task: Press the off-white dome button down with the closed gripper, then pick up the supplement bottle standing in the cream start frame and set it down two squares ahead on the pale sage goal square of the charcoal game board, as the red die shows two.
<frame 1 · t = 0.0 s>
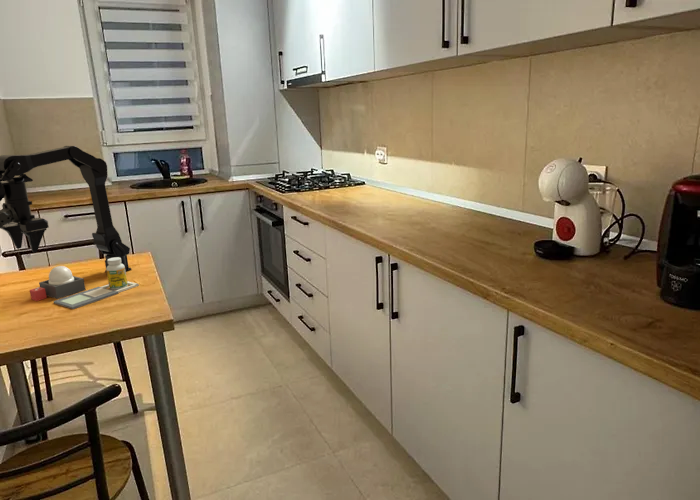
hand: (26, 250, 153), 15 cm above the table, fingers open, 9 cm apart
dome housing: (63, 292, 160), on the table
dome: (60, 276, 159), point 5 cm above the table, slide at 0.0 cm
game board: (98, 294, 157), on the table
supplement bottle: (118, 288, 163), resting in game board
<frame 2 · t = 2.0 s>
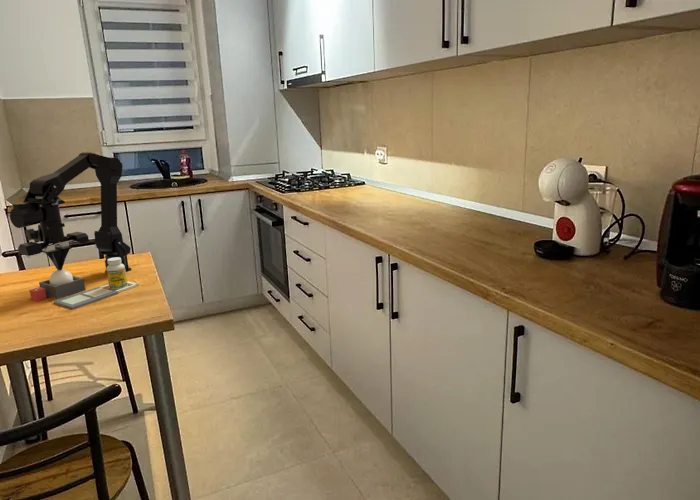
hand: (59, 270, 158), 7 cm above the table, fingers closed, pressing on dome
dome: (61, 279, 159), point 4 cm above the table, slide at 1.2 cm, touching gripper
everything else where it was.
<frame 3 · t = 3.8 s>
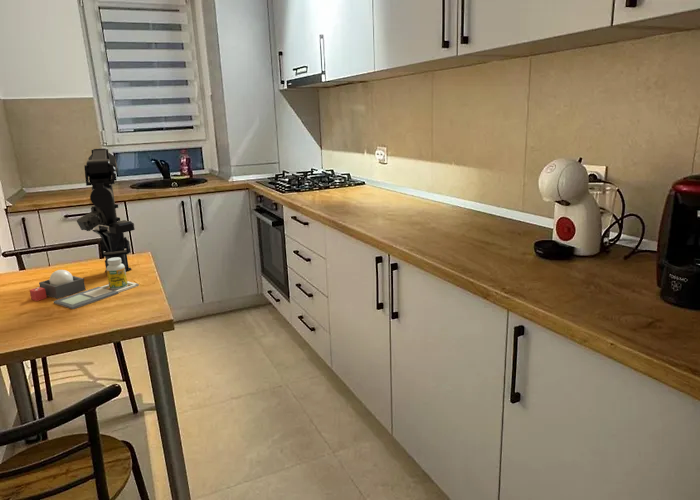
hand: (111, 251, 160), 12 cm above the table, fingers closed
dome: (61, 279, 159), point 4 cm above the table, slide at 1.2 cm
everything else where it was.
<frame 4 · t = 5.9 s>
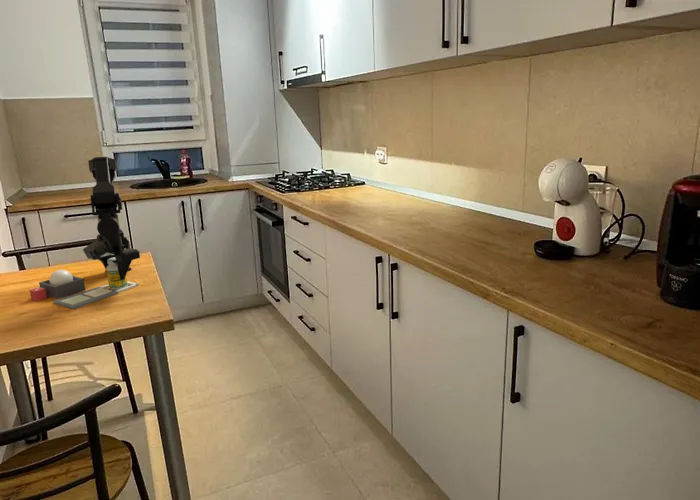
hand: (117, 278, 162), 3 cm above the table, fingers closed on supplement bottle, 5 cm apart
supplement bottle: (118, 288, 163), resting in game board, touching gripper
everything else where it was.
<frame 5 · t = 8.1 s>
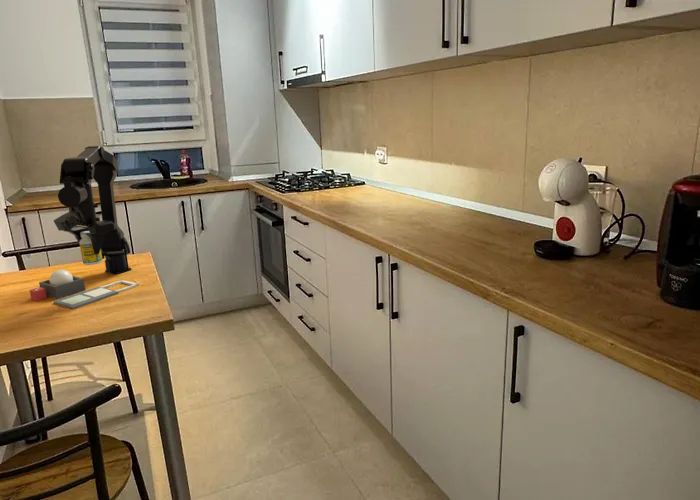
hand: (91, 253, 153), 13 cm above the table, fingers closed on supplement bottle, 5 cm apart
supplement bottle: (93, 263, 154), point 10 cm above the table, touching gripper
everything else where it was.
when the fingers open (5 cm above the table, at t = 10.5 s): supplement bottle stays where it is, resting on game board.
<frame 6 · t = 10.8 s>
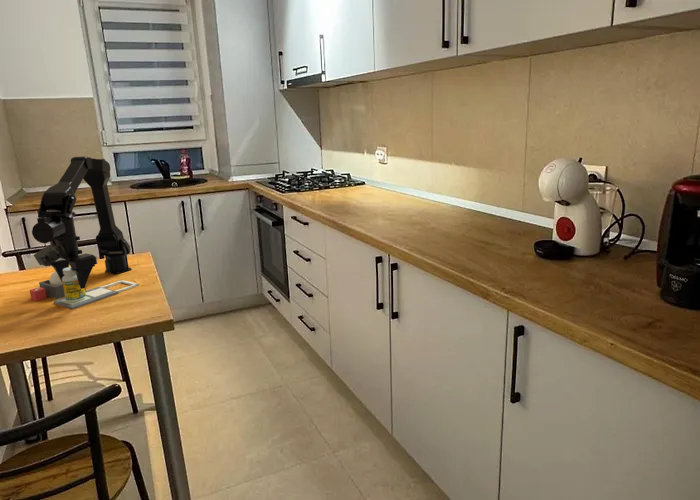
hand: (73, 285, 150), 5 cm above the table, fingers open, 9 cm apart
supplement bottle: (76, 299, 152), point 1 cm above the table, touching game board
everything else where it was.
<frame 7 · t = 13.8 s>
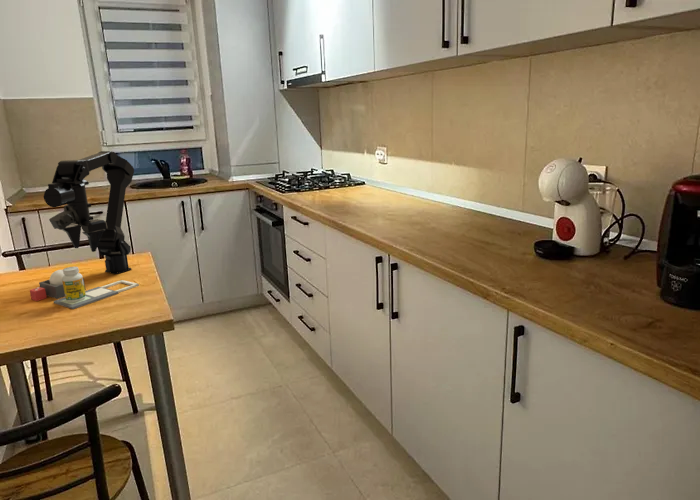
hand: (85, 249, 163), 12 cm above the table, fingers open, 9 cm apart
nothing on the table moved.
at the end: dome slide at 1.2 cm; supplement bottle 0.2 cm from the target spot, point 0.5 cm above the table; supplement bottle tilted 0° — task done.
